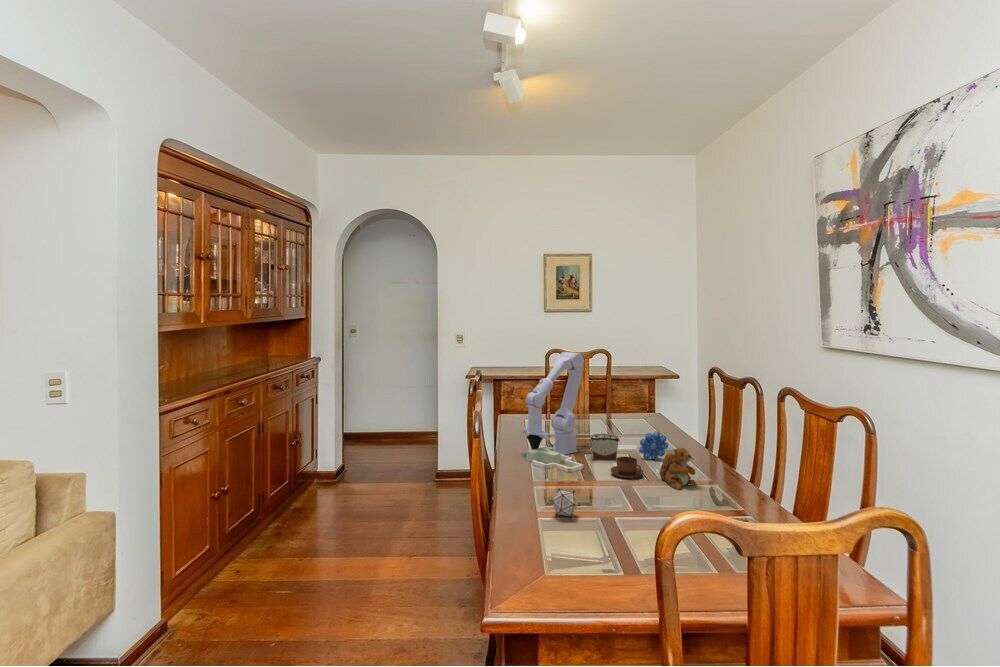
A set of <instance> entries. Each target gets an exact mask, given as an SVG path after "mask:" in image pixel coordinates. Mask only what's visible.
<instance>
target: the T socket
mask: <svg viewBox="0 0 1000 667" xmlns="http://www.w3.org/2000/svg"><path fill="white" fill-rule="evenodd" d="M561 460H563V464H565V465H567V466H565V465H562V464H557V463H554V462H553V463H549V464H548V463H545V462H542V461H535V460H533V461H532V462H531V463H532V465H533V466H535V467H536V466H537V467H539V468H541V469H546V470H547V469H551V468H554V469H557V470H562V471H563V472H564V471H565V472H566V473H573V472H574V473H575V472H576V471H582V470H584V469H585V465H584V464H583V463H579V462H576V461H574V457H571V456H568V455H561ZM569 466H570V467H569Z"/></svg>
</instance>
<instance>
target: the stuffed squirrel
mask: <svg viewBox="0 0 1000 667" xmlns="http://www.w3.org/2000/svg"><path fill="white" fill-rule="evenodd" d="M671 451H672V452H667V453H665V455H664V458H663V459H662V460H663V461H662V463H661V464H662V465H661V466H660V470H659V472H658V474H659V475H660V479H663V480H662V481H664V480H666V481H665V482H667V484H668V486H670V488H673V489H675V490H681V489H682V487H684V485H685V486H686V484H696V485H697V482H696V480H693V479H692V478H691V476H694V475H696V469H695V468H694V467H693V466H690V465H689V464H687V463H689V462H691V461H693V460H694V458H693V457H692V455H691V454H690V452H689V451H688V450H687V449H686V447H678V448H672V449H671ZM690 475H691V476H690Z"/></svg>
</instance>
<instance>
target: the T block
mask: <svg viewBox="0 0 1000 667" xmlns="http://www.w3.org/2000/svg"><path fill="white" fill-rule="evenodd" d="M554 449H555V447H551V446H548V445H546V446H542V447H539V448H537V449H533V450H532V449H529V450H526V452H525V453H526V454H525V456H526V457H525V458H526V461H527V462H530V463H532V461H533V460H535V461H538V462H541V463H544V464H549V463H553V462H554V463H557V464H560V465H562V464H561V462H562V459H561V454H560V453H557V452H554Z"/></svg>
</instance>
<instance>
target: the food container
mask: <svg viewBox="0 0 1000 667" xmlns="http://www.w3.org/2000/svg"><path fill="white" fill-rule="evenodd" d="M589 441H590V443H591V451H592V459H593V461H595V462H596V461H601V462H617V458H618V448H619V443H620V442H621V440H620V437H619V436H618V435H615V434H612V433H611V434H610V433H593V434H592V435H591V436H590V438H589Z"/></svg>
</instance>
